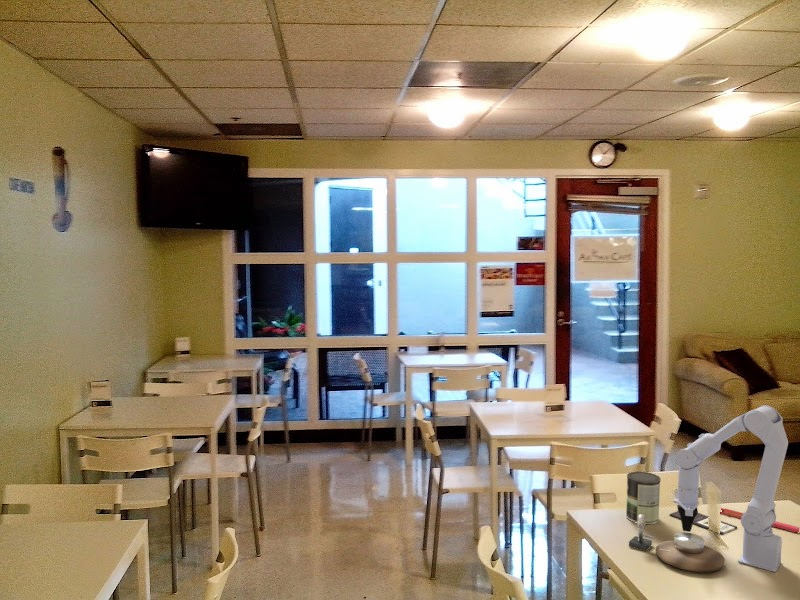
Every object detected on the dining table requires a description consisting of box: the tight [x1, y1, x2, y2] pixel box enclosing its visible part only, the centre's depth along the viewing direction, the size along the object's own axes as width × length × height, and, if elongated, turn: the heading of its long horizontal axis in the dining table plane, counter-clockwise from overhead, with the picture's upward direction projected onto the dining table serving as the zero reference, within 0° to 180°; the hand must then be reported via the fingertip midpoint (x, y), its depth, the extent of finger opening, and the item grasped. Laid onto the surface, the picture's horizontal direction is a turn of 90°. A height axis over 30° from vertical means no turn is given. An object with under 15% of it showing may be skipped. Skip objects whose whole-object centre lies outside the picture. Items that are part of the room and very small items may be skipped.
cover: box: [673, 531, 705, 554], centre depth 196 cm, size 8×8×3 cm
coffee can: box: [625, 471, 662, 525], centre depth 221 cm, size 10×10×14 cm
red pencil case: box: [720, 507, 800, 534], centre depth 219 cm, size 24×2×5 cm
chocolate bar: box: [669, 510, 738, 536], centre depth 219 cm, size 9×1×18 cm
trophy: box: [628, 514, 655, 552], centre depth 200 cm, size 6×5×10 cm
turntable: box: [655, 539, 726, 573], centre depth 192 cm, size 18×18×1 cm
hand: (686, 530), depth 206 cm, fingers closed
